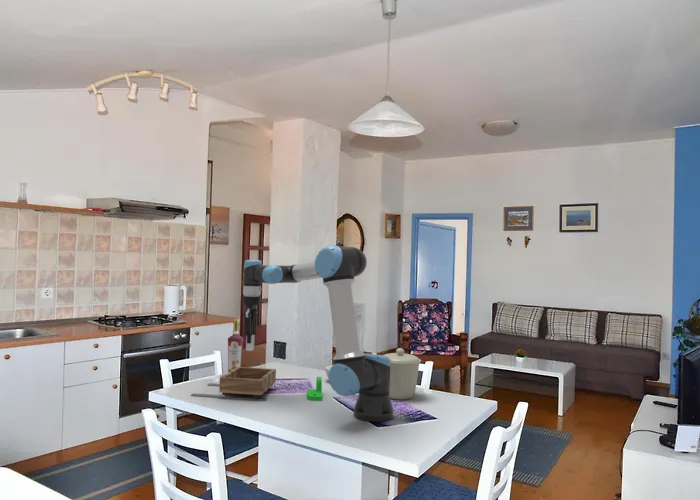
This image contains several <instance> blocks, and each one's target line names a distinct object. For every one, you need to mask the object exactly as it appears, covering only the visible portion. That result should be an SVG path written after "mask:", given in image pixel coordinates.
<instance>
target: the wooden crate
mask: <svg viewBox="0 0 700 500" xmlns="http://www.w3.org/2000/svg"><path fill="white" fill-rule="evenodd" d="M276 376H277V369H276V368H266V367H265V368H264V367H263V368H262V367H248V366H247V367H246V366H241V367H236V368H235V369H233V370H231V371H230V372H228V371H227V373H225V374H224V375H222V376H220V377H219V384H220V386H218V387H219V388H218V389H219V393H222V394H223V395H225V396H230V394H239V395H253V397H255V398H260V397H261V396H262V395H264V393H266V392H267V391H268V390H270V389H269V388H270V387H273V385H275V383H277V382H276V379H277V377H276Z"/></svg>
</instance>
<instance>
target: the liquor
mask: <svg viewBox="0 0 700 500" xmlns="http://www.w3.org/2000/svg"><path fill="white" fill-rule="evenodd" d="M232 320H233V321H232V322H233V323H232V324H233V327H232V328H233V330H232V335H231V336H229V337H228V338H227V373H228V372H230V371H231V370H233V369H235V368H236V367H242V359H243V357H242V356H243V346H244V345H243V344H244V338H243V336H241V335H240V334H239V333H240V331H239V328H240V327H239V325H240V319H239V318H233V319H232Z"/></svg>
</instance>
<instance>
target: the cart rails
mask: <svg viewBox="0 0 700 500" xmlns="http://www.w3.org/2000/svg"><path fill="white" fill-rule="evenodd" d="M207 386H208V387H209V386H211V387H220V383H211V382H210V383H208V384H207ZM268 390H270V391H271V390H273V391H277V390H279V387H277V386H276V387H275V386H271V387H270V388H269V389H268ZM190 396H191V397H198V398H199V397H200V398H201V397H202V398H215V399H216V398H217V399H228V400H229V399H231V400H232V399H233V400H243V401H244V400H247V401H259V402H260V401H264V402H266V401H267V400H268V397H258V398H255V397H254V396H243V395H242V396H240V395H239V396H238V395H228V396H225V395H224V394H209V393H192V394H190Z"/></svg>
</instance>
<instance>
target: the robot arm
mask: <svg viewBox="0 0 700 500" xmlns="http://www.w3.org/2000/svg"><path fill="white" fill-rule="evenodd" d="M262 263H263V262H262V260H259V259H257V260H256V259H245V261H244V264H243V287H242V295H243V296H242V305H244V306H246V309H245V312H243V316H244V317H243V319H244V334H243V336H246V337H245V338H246V339H245V351H247V352H252V351H254V350H255V335H257V328H258V327H257V325H258V324H257V323H258V314H259V310H258V309H257V306H260V305H261V299H262V297H261V293H262V290H263V289H262V283H263V284H269V285H275V284H284V283H286V284H290V283H291V284H297V283H301V282H302V281H304V282H305V281H309V280H310V281H311V280H315V279H322V281H323V282H322V283H323V285H324V286H325V287H326V288H327V289H328V290H327V291H328V296H329V297H328V298H329V306H330V314H331V321H332V328H333V329H332V330H333V338H334V343H335V351H336V353H335V355H334V356H333V358H332V365H333V366H332V367H331V369H330V371H329V376H328V377H329V378H328V377H327V378H328V382H329V385H330V387H331V389H332V390H333V391H334V392H335V393H336V394H338V395H339V396H341V397H350V396H351V397H352V396H356V395H358V396H357V398H356V401H355V404H354V408H353V416H354V417H355V418H356V419H358V420H361V421H365V422H387V421H390V420H392V419H393V418H394V415H395V414H394V407H393V404H392V400H391V398H390V396H389V393H390V368H391V366H390V359H389V357H387V356H383V355H384V354H382V355H381V354H377V353H375V354H374V353H364V352H362V351H361V349H360V348H361V347H360V342H359V335H358V328H357V319H356V311H355V306H354V298H353V297H354V296H353V289H352V284H353V283H354V282H355V278H356V277H358V276H360V275H362V274H363V273H364V271H365V270H366V267H367V263H368V262H367V257H366V254H365V253H364V252H363V251H362V250H361V249H359V248H357V247H355V246H341V245H339V246H338V245H331V246H330V245H329V246H325V247H322V248H321V249H320V250H319V251H318V253H317V254H316V257H315V260H313V261H307V262H301V263H297V264H291V265H270V264H269V265H266V264H265V265H263V264H262Z"/></svg>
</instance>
